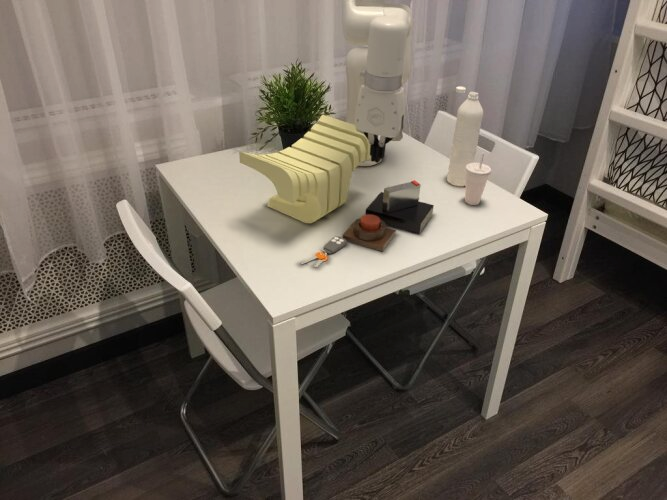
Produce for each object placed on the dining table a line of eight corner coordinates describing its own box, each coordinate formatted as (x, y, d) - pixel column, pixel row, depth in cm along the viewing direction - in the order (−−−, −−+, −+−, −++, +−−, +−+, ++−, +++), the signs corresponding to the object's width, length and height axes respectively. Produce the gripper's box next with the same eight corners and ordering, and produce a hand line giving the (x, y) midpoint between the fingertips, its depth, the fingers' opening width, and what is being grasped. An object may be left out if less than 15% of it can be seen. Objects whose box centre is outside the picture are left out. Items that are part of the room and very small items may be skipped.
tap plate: (364, 219, 144) (365, 209, 142) (380, 202, 151) (381, 191, 150) (419, 234, 139) (420, 223, 137) (432, 215, 146) (433, 205, 145)
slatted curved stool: (293, 242, 134) (293, 172, 124) (243, 219, 142) (239, 151, 132) (368, 194, 154) (373, 130, 144) (320, 176, 162) (322, 114, 152)
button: (357, 228, 134) (357, 221, 133) (364, 219, 138) (365, 212, 137) (375, 233, 133) (375, 226, 132) (382, 224, 136) (383, 217, 135)
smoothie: (470, 209, 150) (479, 159, 142) (454, 198, 154) (463, 149, 146) (489, 204, 152) (500, 154, 144) (474, 193, 157) (483, 144, 149)
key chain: (334, 239, 136) (335, 233, 135) (348, 244, 134) (348, 239, 133) (300, 264, 127) (300, 259, 126) (314, 270, 125) (314, 265, 125)
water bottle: (475, 182, 162) (492, 94, 148) (459, 189, 159) (475, 98, 145) (451, 170, 168) (465, 84, 154) (435, 176, 164) (448, 88, 150)
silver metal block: (387, 213, 141) (389, 191, 137) (381, 208, 142) (383, 187, 139) (418, 205, 144) (420, 183, 141) (412, 200, 146) (415, 179, 143)
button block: (342, 240, 136) (342, 227, 134) (356, 224, 142) (357, 211, 140) (382, 252, 132) (383, 238, 130) (395, 235, 138) (396, 222, 136)
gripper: (343, 79, 122) (339, 158, 133) (411, 92, 117) (401, 174, 128) (358, 68, 128) (353, 146, 139) (423, 81, 123) (413, 160, 134)
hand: (376, 159), depth 133 cm, fingers closed
